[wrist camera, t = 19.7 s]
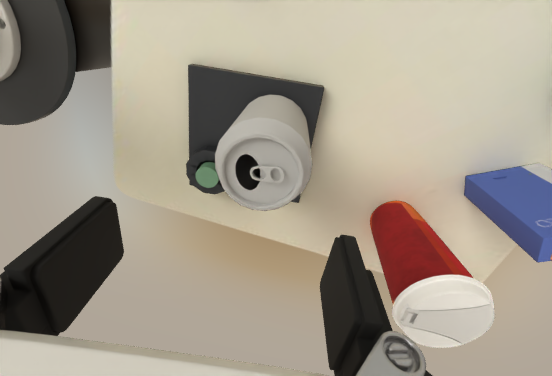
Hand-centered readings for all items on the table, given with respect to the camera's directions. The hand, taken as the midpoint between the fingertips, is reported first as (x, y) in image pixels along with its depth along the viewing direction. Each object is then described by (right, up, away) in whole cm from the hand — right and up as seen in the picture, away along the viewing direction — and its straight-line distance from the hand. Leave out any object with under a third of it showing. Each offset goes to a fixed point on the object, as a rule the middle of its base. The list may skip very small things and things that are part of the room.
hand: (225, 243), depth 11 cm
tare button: (-5, +4, +20) cm, 21 cm away
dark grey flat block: (-1, +8, +20) cm, 22 cm away
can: (+2, +9, +18) cm, 20 cm away
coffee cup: (+18, -2, +24) cm, 30 cm away
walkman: (+29, +4, +21) cm, 36 cm away
